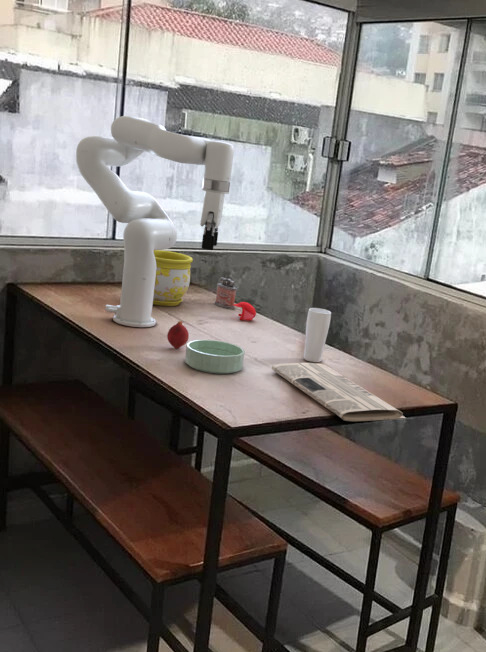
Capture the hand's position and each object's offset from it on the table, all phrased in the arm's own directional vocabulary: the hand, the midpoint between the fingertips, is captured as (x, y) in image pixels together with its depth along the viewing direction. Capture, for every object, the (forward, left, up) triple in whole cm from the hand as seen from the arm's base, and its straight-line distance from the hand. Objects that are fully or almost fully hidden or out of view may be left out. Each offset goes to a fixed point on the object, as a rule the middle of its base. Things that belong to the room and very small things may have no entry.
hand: (209, 247), depth 231 cm
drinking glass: (+34, -1, -28) cm, 44 cm away
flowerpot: (-20, +45, -28) cm, 56 cm away
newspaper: (+41, -31, -28) cm, 59 cm away
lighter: (+1, +53, -28) cm, 60 cm away
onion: (-4, -11, -28) cm, 31 cm away
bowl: (+8, -22, -28) cm, 37 cm away
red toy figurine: (+9, +37, -28) cm, 48 cm away
